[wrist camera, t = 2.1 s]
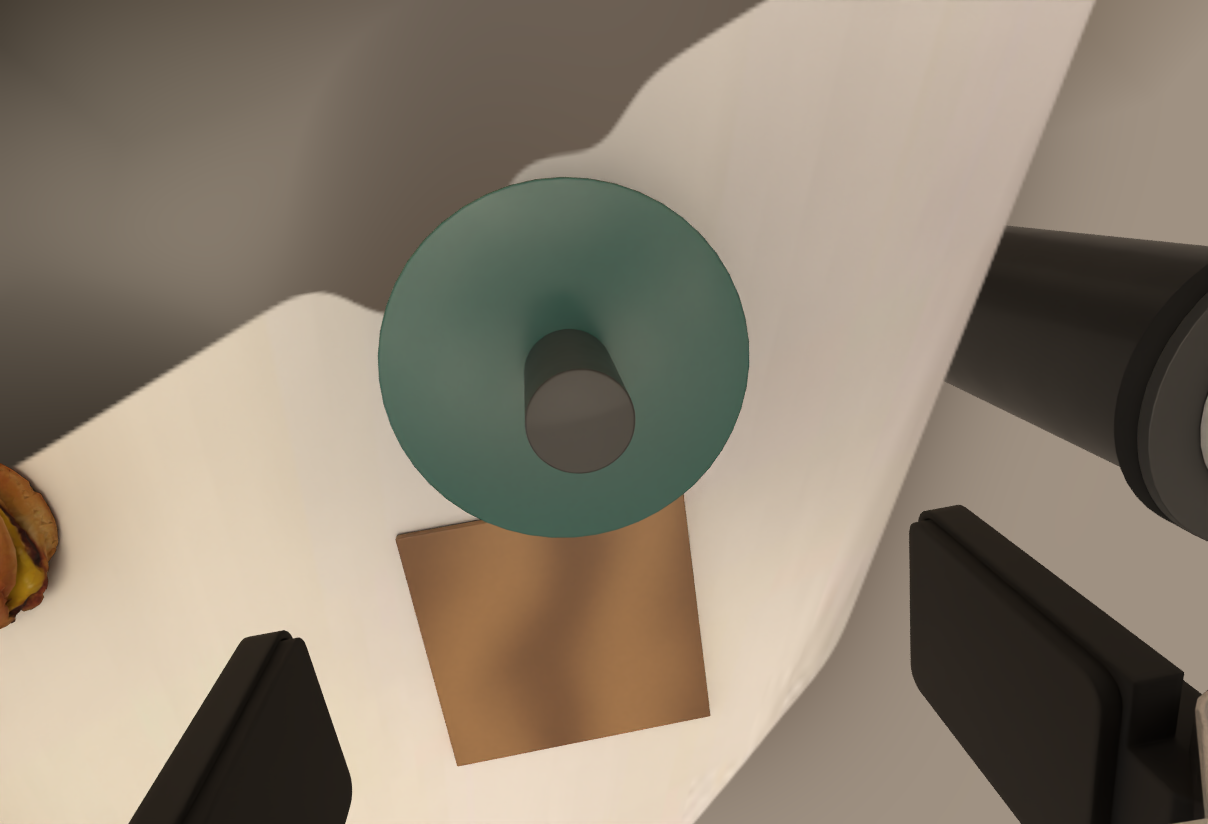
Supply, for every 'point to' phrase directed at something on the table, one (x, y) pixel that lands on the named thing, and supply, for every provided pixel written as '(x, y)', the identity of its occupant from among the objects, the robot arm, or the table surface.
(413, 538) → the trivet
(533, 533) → the tin lid
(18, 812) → the table surface
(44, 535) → the burger
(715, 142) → the table surface
